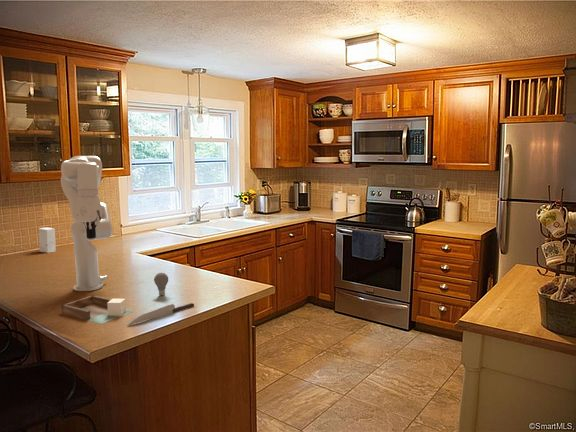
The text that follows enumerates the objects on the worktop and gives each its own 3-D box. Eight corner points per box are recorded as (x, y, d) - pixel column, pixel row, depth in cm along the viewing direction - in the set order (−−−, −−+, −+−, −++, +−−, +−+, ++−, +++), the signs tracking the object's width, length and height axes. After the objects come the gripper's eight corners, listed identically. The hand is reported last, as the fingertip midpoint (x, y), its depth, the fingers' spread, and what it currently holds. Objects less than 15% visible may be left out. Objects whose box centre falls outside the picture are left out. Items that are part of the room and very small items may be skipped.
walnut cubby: (95, 304, 195) (94, 294, 194) (135, 313, 183) (134, 303, 183) (60, 315, 181) (59, 305, 180) (100, 326, 169) (100, 316, 169)
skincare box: (39, 251, 295) (37, 228, 293) (48, 250, 301) (46, 226, 299) (48, 253, 292) (46, 229, 289) (56, 251, 297) (55, 227, 295)
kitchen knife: (192, 298, 192) (124, 316, 169) (194, 298, 191) (126, 316, 168) (192, 308, 192) (124, 327, 170) (194, 308, 191) (126, 328, 169)
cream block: (113, 310, 183) (112, 298, 182) (126, 311, 183) (125, 298, 182) (108, 315, 178) (107, 302, 177) (121, 315, 178) (120, 302, 177)
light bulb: (170, 293, 209) (169, 271, 208) (167, 297, 203) (166, 274, 202) (156, 293, 209) (155, 271, 207) (153, 297, 203) (152, 274, 201)
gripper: (68, 193, 192) (71, 238, 194) (92, 195, 184) (95, 241, 187) (84, 192, 198) (87, 235, 201) (108, 193, 191) (111, 238, 193)
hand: (91, 238), depth 194 cm, fingers closed
